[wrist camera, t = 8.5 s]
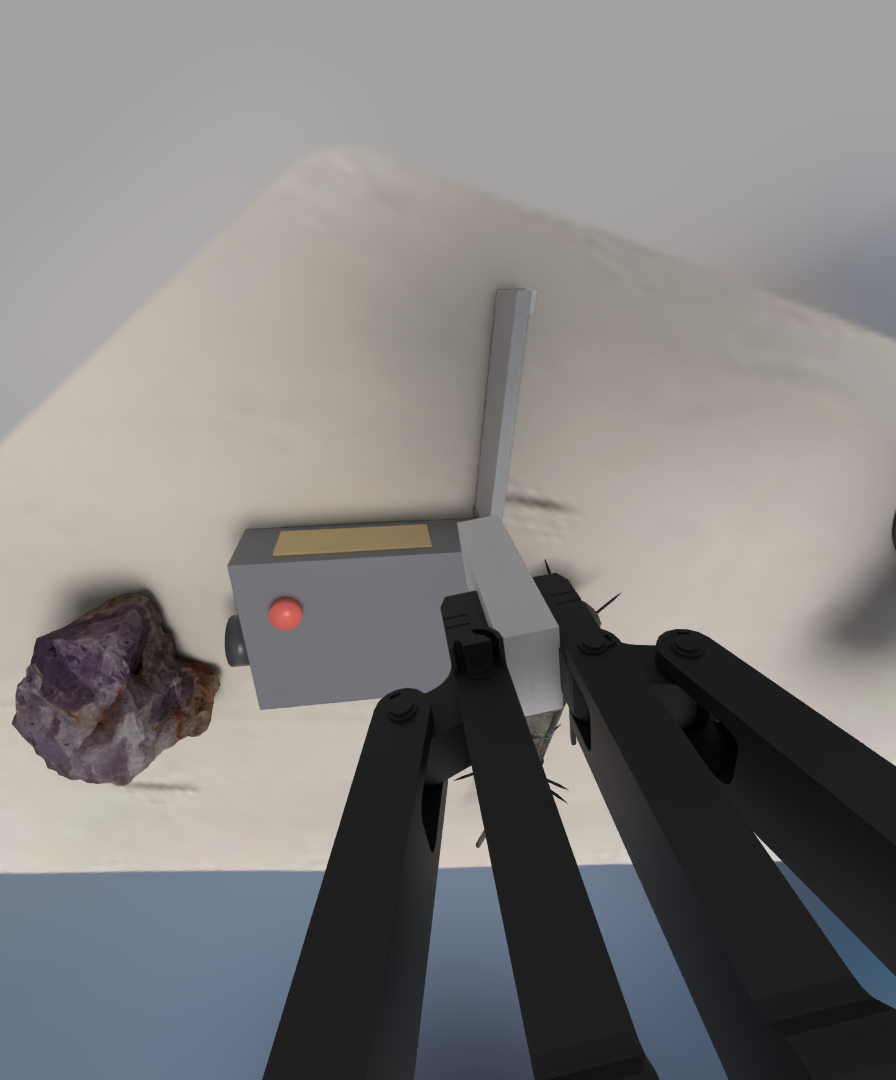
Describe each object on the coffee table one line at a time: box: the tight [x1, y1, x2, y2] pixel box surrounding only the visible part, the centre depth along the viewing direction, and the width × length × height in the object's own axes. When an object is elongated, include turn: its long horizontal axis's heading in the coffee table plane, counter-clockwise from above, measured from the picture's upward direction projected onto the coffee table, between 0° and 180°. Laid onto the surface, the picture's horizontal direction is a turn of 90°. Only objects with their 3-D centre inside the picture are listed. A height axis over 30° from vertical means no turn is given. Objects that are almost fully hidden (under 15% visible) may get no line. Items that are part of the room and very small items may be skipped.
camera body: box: [225, 518, 476, 710], centre depth 34 cm, size 19×12×6 cm, turn 89°
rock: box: [12, 594, 220, 786], centre depth 33 cm, size 12×9×10 cm
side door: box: [473, 289, 537, 521], centre depth 30 cm, size 15×2×5 cm, turn 176°
